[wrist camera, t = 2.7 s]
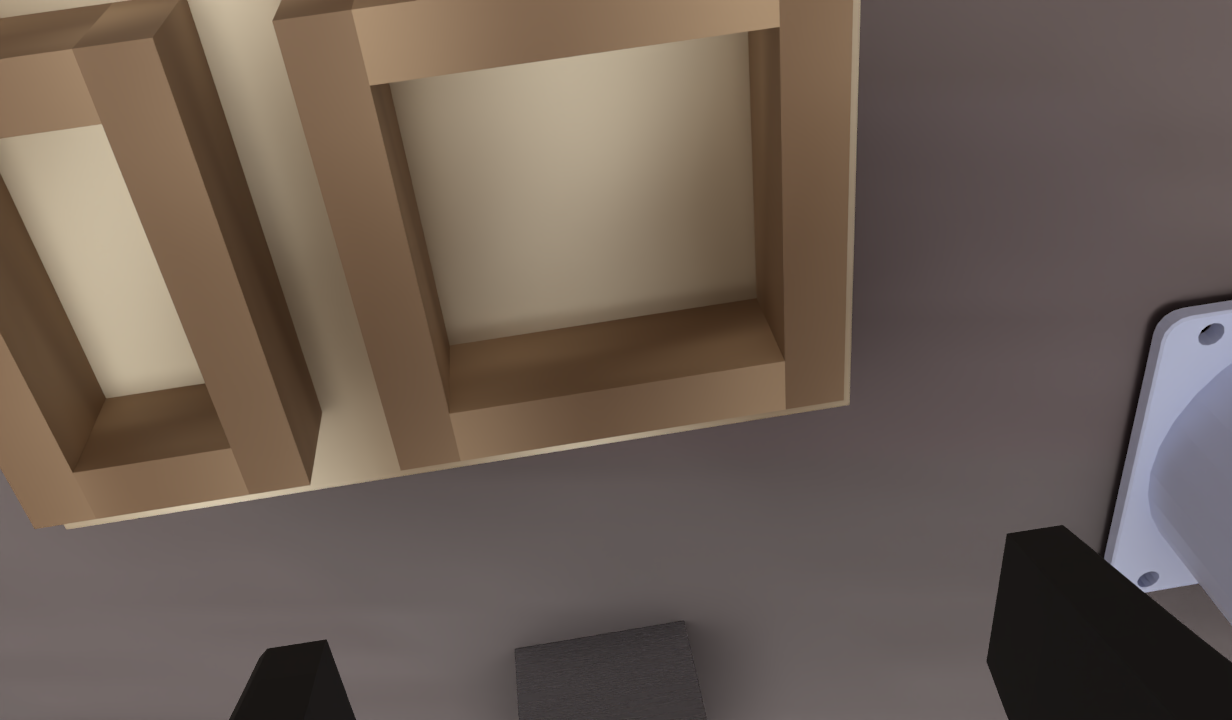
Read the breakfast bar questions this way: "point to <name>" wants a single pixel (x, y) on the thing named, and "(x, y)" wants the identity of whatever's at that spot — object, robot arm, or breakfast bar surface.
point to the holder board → (408, 236)
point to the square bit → (611, 677)
